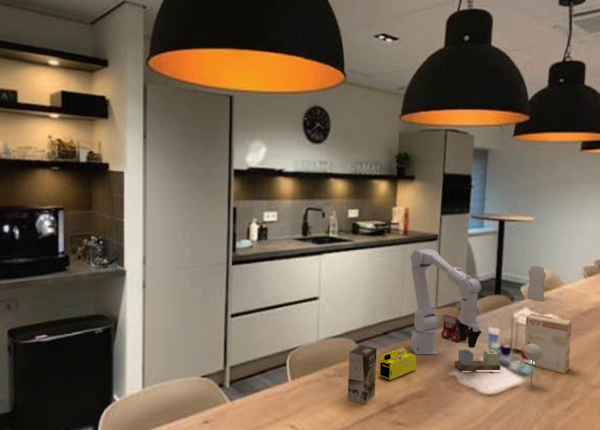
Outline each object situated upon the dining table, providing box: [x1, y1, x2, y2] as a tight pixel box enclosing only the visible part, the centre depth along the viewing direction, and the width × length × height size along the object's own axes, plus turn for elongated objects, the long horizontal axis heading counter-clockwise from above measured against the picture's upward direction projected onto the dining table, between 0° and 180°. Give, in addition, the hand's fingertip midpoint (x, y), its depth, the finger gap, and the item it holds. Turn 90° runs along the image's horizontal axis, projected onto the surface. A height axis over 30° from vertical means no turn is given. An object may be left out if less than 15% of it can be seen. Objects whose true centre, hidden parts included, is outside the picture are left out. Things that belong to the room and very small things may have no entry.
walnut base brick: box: [454, 360, 501, 373], centre depth 179 cm, size 16×5×2 cm, turn 93°
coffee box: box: [347, 344, 377, 405], centre depth 153 cm, size 9×6×16 cm
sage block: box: [482, 349, 499, 365], centre depth 179 cm, size 4×4×5 cm
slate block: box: [457, 349, 474, 365], centre depth 178 cm, size 4×4×5 cm
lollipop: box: [523, 344, 542, 385], centre depth 166 cm, size 6×6×15 cm
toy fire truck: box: [440, 314, 461, 343], centre depth 214 cm, size 7×12×10 cm, turn 37°
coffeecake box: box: [523, 313, 572, 374], centre depth 183 cm, size 15×7×20 cm, turn 47°
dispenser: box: [527, 265, 547, 302], centre depth 293 cm, size 11×4×22 cm, turn 38°
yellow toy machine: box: [378, 347, 417, 381], centre depth 173 cm, size 16×6×8 cm, turn 131°
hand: (467, 343), depth 179 cm, fingers open, 7 cm apart
